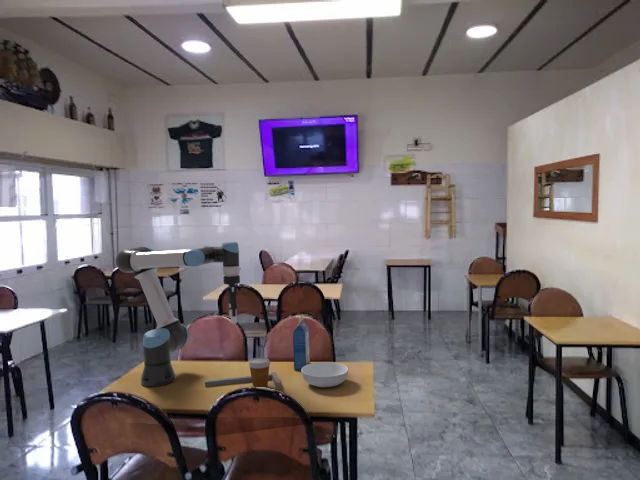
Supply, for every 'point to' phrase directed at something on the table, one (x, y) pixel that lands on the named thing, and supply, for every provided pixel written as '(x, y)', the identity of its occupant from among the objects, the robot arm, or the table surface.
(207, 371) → the table surface
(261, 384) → the disposable coffee cup
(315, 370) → the serving bowl
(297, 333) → the blue food package
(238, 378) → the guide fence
